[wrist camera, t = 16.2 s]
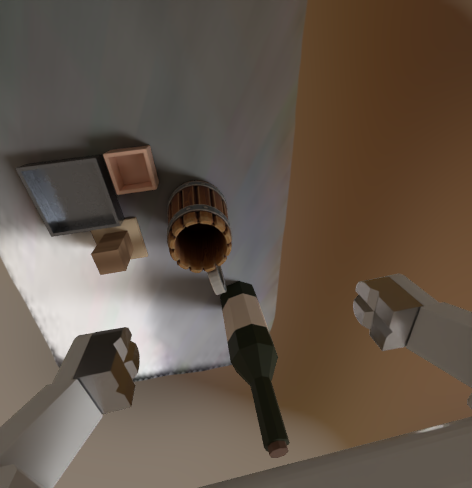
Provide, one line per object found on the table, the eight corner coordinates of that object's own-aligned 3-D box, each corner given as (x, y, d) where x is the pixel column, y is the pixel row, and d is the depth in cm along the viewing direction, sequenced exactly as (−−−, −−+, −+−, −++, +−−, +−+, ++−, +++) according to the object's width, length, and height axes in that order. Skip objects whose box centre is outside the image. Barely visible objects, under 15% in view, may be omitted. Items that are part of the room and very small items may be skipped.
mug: (157, 190, 43) (144, 226, 30) (215, 170, 43) (227, 198, 30) (190, 261, 51) (191, 314, 38) (239, 244, 51) (257, 292, 38)
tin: (27, 164, 38) (15, 168, 35) (101, 154, 39) (95, 158, 36) (59, 228, 43) (51, 236, 40) (124, 218, 44) (120, 226, 41)
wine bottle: (262, 294, 58) (322, 445, 32) (236, 314, 60) (272, 473, 34) (239, 274, 54) (286, 428, 28) (212, 297, 56) (232, 461, 30)
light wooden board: (89, 224, 44) (88, 225, 43) (136, 217, 44) (135, 218, 44) (105, 261, 47) (104, 263, 47) (148, 254, 48) (147, 256, 48)
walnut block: (104, 233, 44) (91, 254, 38) (127, 230, 45) (117, 249, 38) (112, 252, 46) (100, 274, 40) (134, 249, 47) (125, 270, 40)
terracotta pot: (110, 149, 39) (102, 154, 35) (149, 145, 39) (145, 148, 36) (123, 187, 41) (117, 194, 38) (159, 182, 42) (156, 189, 39)
